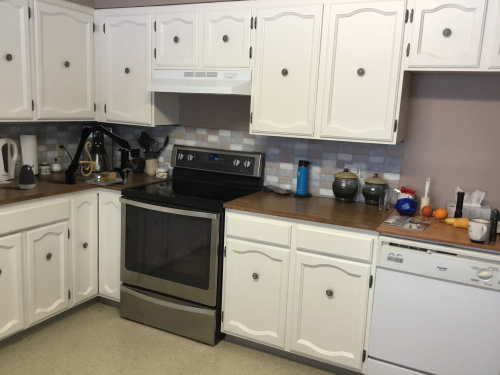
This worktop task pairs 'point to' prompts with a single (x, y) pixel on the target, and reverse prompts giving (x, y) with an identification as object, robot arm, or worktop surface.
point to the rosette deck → (104, 179)
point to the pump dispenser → (26, 177)
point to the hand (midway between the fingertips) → (124, 180)
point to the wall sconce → (91, 163)
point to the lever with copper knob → (125, 180)
